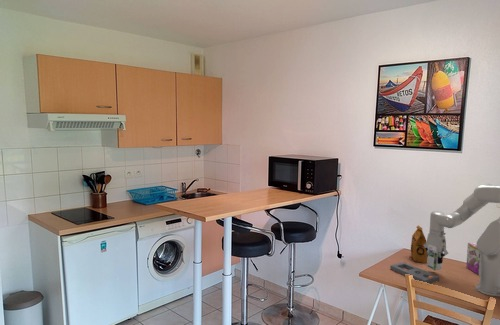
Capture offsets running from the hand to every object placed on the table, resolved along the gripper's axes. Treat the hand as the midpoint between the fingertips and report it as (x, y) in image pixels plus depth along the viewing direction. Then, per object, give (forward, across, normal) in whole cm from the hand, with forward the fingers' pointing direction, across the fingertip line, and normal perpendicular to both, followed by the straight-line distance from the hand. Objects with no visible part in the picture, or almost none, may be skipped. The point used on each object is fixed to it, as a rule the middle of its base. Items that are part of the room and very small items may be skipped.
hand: (434, 261), depth 204 cm
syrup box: (+5, 0, 0) cm, 5 cm away
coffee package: (+8, +19, -11) cm, 23 cm away
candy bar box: (+8, -9, -26) cm, 29 cm away
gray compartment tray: (+8, +4, +13) cm, 16 cm away
